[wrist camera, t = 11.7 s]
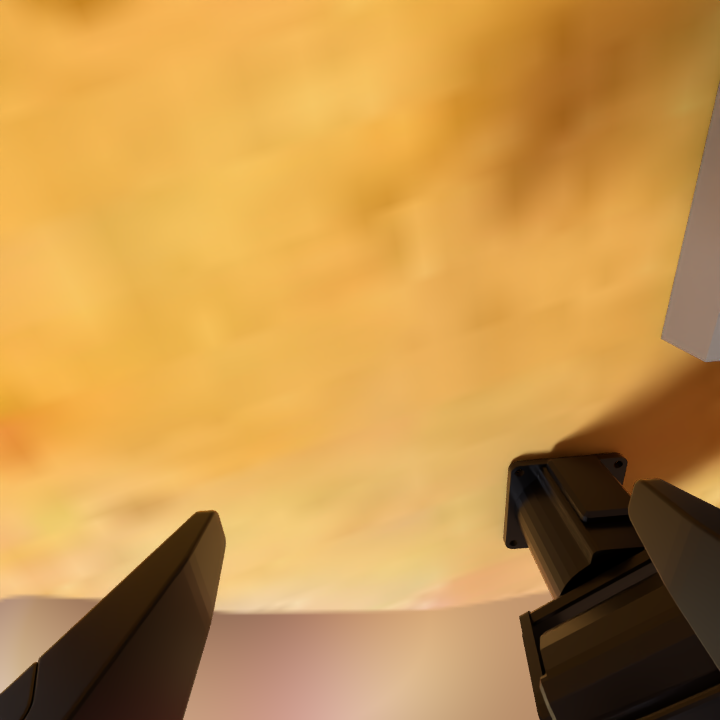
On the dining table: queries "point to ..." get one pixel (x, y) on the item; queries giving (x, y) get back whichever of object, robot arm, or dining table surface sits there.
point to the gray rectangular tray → (700, 262)
